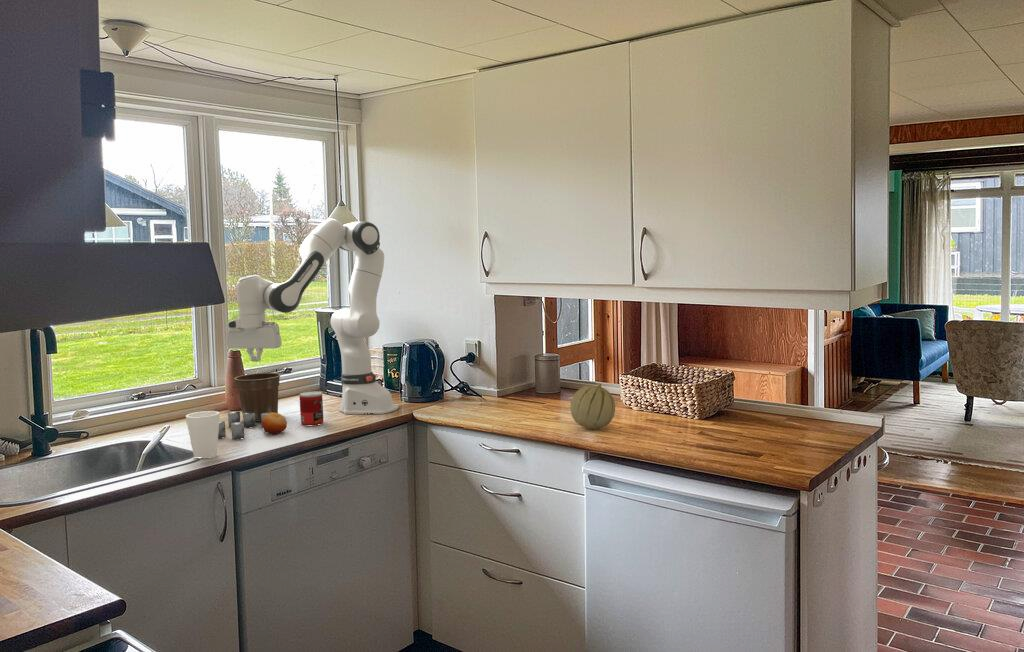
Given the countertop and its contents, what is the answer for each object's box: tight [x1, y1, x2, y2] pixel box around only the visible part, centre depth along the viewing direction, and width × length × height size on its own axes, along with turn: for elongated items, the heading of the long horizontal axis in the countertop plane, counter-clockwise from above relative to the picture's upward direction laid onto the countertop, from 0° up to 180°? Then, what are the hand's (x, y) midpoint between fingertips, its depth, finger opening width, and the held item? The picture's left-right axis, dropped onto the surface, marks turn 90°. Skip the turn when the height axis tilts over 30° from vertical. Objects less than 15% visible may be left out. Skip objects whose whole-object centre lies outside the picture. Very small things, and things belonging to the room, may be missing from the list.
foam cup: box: [185, 410, 221, 459], centre depth 236 cm, size 10×9×13 cm
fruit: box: [262, 412, 288, 436], centre depth 265 cm, size 8×8×8 cm
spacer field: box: [218, 410, 272, 440], centre depth 268 cm, size 17×20×5 cm
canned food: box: [299, 391, 324, 426], centre depth 277 cm, size 8×8×11 cm
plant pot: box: [234, 372, 282, 423], centre depth 287 cm, size 16×16×16 cm
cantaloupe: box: [569, 382, 616, 430], centre depth 257 cm, size 15×15×15 cm
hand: (255, 361), depth 274 cm, fingers closed
